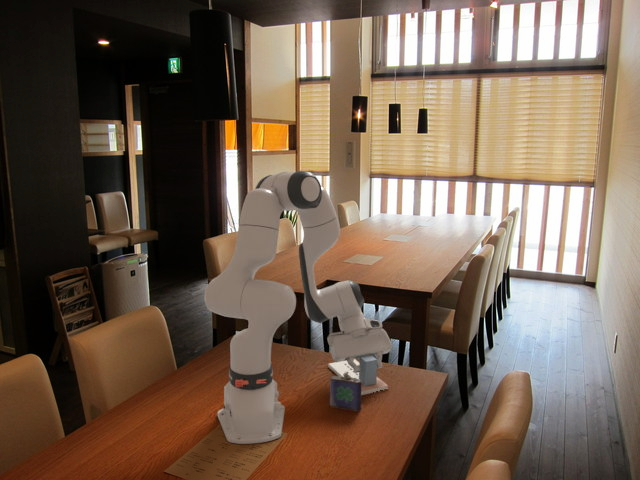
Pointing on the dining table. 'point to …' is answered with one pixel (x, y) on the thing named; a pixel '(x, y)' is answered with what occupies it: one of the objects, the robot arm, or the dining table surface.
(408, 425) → the dining table surface
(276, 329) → the robot arm
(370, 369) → the grey rectangular block
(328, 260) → the dining table surface
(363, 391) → the board
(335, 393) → the flask
